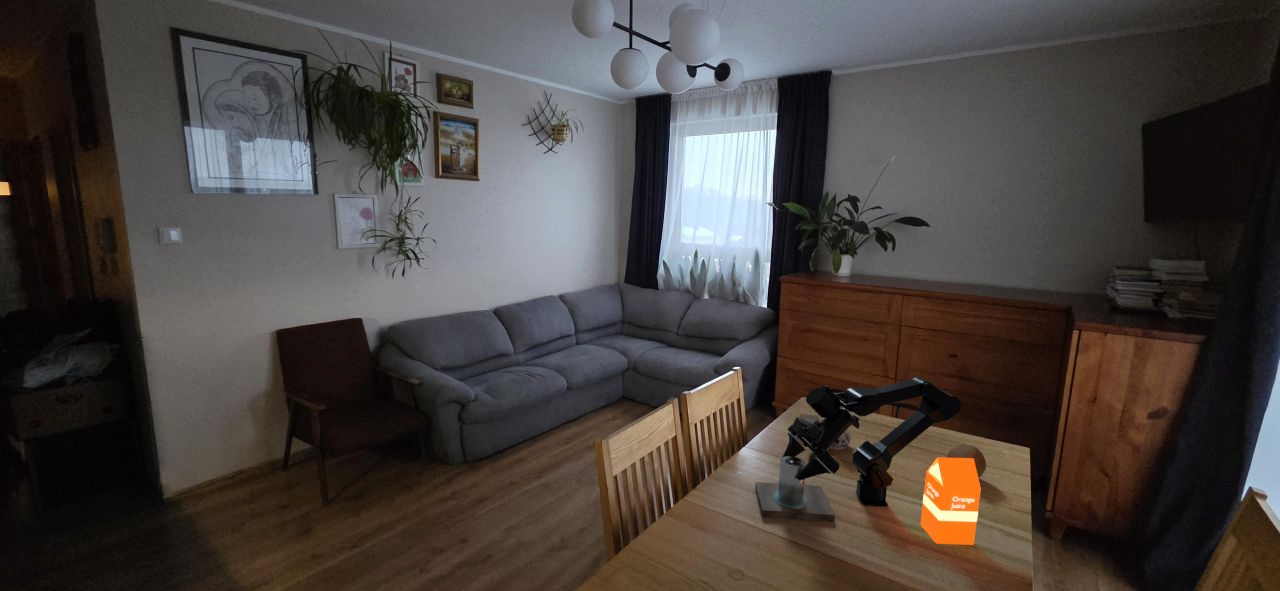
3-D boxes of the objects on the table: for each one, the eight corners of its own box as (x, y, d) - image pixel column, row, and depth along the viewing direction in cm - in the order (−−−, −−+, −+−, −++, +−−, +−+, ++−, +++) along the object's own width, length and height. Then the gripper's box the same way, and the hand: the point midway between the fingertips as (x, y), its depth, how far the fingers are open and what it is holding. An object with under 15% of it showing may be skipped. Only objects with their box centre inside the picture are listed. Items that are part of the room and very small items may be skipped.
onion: (951, 483, 150) (955, 450, 148) (941, 467, 159) (944, 436, 158) (989, 488, 147) (993, 455, 146) (976, 471, 157) (980, 440, 155)
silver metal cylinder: (804, 495, 138) (806, 458, 137) (801, 508, 132) (804, 469, 131) (780, 490, 141) (782, 453, 139) (776, 502, 135) (778, 464, 133)
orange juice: (919, 524, 130) (928, 450, 126) (955, 525, 129) (964, 450, 126) (936, 544, 122) (945, 465, 119) (974, 545, 122) (984, 466, 118)
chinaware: (792, 429, 189) (790, 386, 187) (838, 427, 188) (837, 384, 185) (810, 466, 162) (807, 416, 159) (864, 464, 160) (863, 414, 158)
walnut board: (820, 492, 144) (821, 485, 143) (834, 522, 130) (835, 514, 130) (755, 488, 146) (755, 481, 145) (762, 517, 132) (762, 509, 131)
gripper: (796, 396, 142) (756, 436, 142) (831, 423, 124) (785, 469, 124) (820, 421, 145) (781, 460, 145) (858, 451, 127) (814, 496, 127)
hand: (789, 470), depth 135 cm, fingers open, 9 cm apart
